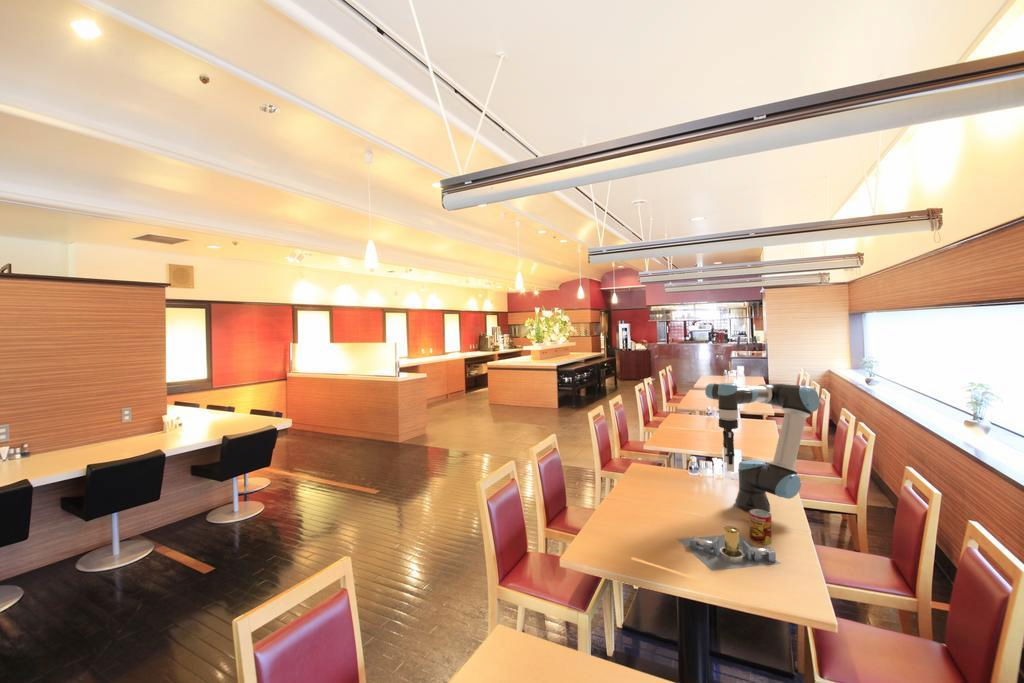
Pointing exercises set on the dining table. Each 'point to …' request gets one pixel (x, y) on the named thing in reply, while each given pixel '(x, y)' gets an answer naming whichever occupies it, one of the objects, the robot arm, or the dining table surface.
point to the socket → (732, 559)
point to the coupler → (731, 541)
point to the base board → (717, 561)
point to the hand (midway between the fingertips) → (728, 466)
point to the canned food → (760, 526)
